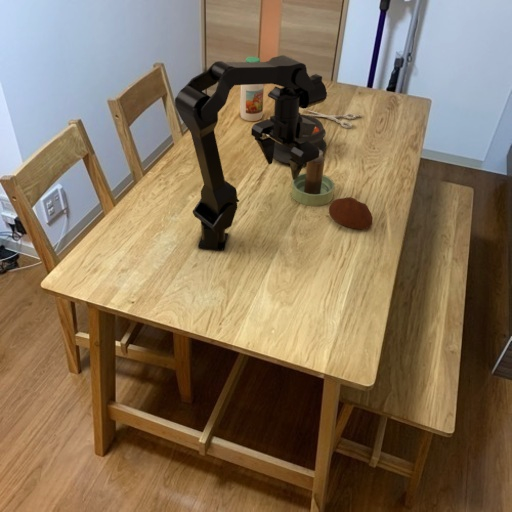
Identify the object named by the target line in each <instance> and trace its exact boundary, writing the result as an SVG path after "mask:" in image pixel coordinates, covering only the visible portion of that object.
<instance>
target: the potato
mask: <svg viewBox="0 0 512 512" xmlns="http://www.w3.org/2000/svg"><path fill="white" fill-rule="evenodd" d="M328 214H329V217H330V218H331V219H332V220H333V221H334V222H336V223H338V224H339V225H342V226H344V227H347V228H351V229H356V230H366V229H369V228H371V226H372V225H373V220H374V219H373V218H374V217H373V214H372V212H371V210H370V208H369V206H368V205H367V204H366V203H364V202H361V201H359V200H357V199H356V198H354V197H350V196H349V197H341V198H337V199H335V200H333V201H332V202H330V204H329V206H328Z"/></svg>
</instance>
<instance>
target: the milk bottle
mask: <svg viewBox="0 0 512 512" xmlns="http://www.w3.org/2000/svg"><path fill="white" fill-rule="evenodd" d="M245 62H261V59H260V58H259V57H258V56H248V57H246V59H245ZM264 85H265V84H253V85H240V96H239V97H240V98H239V100H240V103H239V111H240V112H239V116H240V118H241V119H242V120H244V121H247V122H258V121H260V120H261V119H262V118H263V115H264V114H263V113H264V88H265V87H264Z"/></svg>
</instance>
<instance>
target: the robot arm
mask: <svg viewBox="0 0 512 512" xmlns="http://www.w3.org/2000/svg"><path fill="white" fill-rule="evenodd" d="M306 66H307V65H306V64H305V63H304V62H301V61H299V60H296V59H295V58H292V57H290V56H287V55H285V54H283V55H282V54H281V55H278V56H274V57H271V58H269V60H266V61H260V62H246V61H237V62H236V61H223V60H219V61H214V62H213V63H212V64H211V65H210V66H209V68H207V69H206V70H204V71H203V72H201V73H199V74H198V75H195V76H194V77H192V78H191V79H190V81H188V82H187V84H186V85H185V86H184V87H182V89H180V90H179V92H178V93H177V95H176V96H175V98H174V106H175V109H176V111H177V113H178V115H179V117H180V120H181V121H182V122H183V124H184V125H185V126H186V128H187V129H188V131H189V132H190V136H191V139H192V143H193V146H194V150H195V154H196V155H195V156H196V159H197V162H198V166H199V170H200V173H201V178H202V182H203V186H202V188H201V189H200V199H199V201H198V202H197V204H195V206H194V208H193V209H192V214H193V216H194V218H196V219H198V220H199V221H200V233H201V236H200V238H199V242H198V245H197V248H198V249H200V250H201V249H202V250H211V251H218V252H219V251H220V252H223V251H225V250H226V246H227V242H228V239H229V233H228V232H226V230H227V229H229V228H231V227H232V225H233V222H234V218H235V216H236V212H237V210H238V203H239V202H240V200H239V199H238V191H237V188H236V187H235V186H234V185H233V184H231V183H230V182H228V181H226V180H225V174H224V171H223V165H222V161H221V157H220V152H219V148H218V143H217V138H216V133H215V129H216V126H217V124H218V122H219V112H220V111H221V110H222V109H223V108H224V107H225V105H226V104H227V101H228V98H229V95H230V92H231V90H232V89H233V88H234V87H235V86H241V85H253V84H263V85H275V86H274V87H273V89H271V90H270V91H269V92H268V94H267V97H268V98H270V99H272V100H274V109H273V111H274V112H273V115H272V116H270V117H269V119H267V118H266V119H264V120H261V121H257V123H256V122H255V123H254V124H253V125H252V126H251V131H250V132H251V136H252V137H254V141H256V143H257V145H258V146H259V148H260V151H261V152H262V154H263V156H264V158H265V160H266V162H267V164H268V165H272V164H273V161H274V158H273V156H274V146H275V142H276V141H277V142H278V143H280V144H284V145H286V146H287V147H289V148H291V149H292V150H291V154H290V155H291V157H292V158H291V159H289V160H290V163H289V165H290V172H291V177H292V180H295V179H297V177H298V175H299V174H301V171H302V170H303V168H304V166H305V165H306V164H307V162H309V161H312V160H314V159H316V158H319V152H320V149H319V148H318V147H317V146H315V145H314V144H312V143H310V142H308V141H306V142H304V143H301V144H300V143H299V142H297V141H296V139H301V138H303V135H309V136H312V134H313V131H314V128H315V126H316V124H315V123H314V122H312V121H310V120H308V119H306V118H303V117H301V115H302V114H301V112H300V109H304V110H306V109H309V108H311V107H313V106H316V105H319V104H321V103H324V102H325V101H326V99H327V96H328V91H327V88H326V85H325V84H324V82H323V76H322V75H320V74H317V73H315V74H312V75H309V74H308V70H307V69H308V68H307V67H306ZM215 85H217V86H216V89H215V91H214V92H213V94H212V95H209V94H207V93H205V92H204V91H206V90H207V89H210V88H211V87H213V86H215ZM279 86H280V87H279Z"/></svg>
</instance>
